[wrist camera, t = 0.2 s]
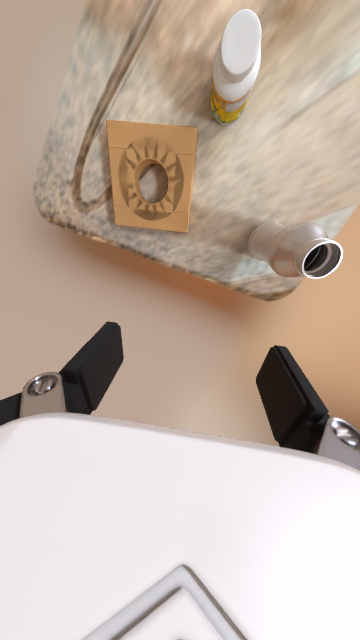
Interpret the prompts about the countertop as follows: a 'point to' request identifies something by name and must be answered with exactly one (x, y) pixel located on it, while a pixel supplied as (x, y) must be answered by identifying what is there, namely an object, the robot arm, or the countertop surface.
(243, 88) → the supplement bottle
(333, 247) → the plastic bottle
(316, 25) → the countertop surface
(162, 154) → the socket pad
